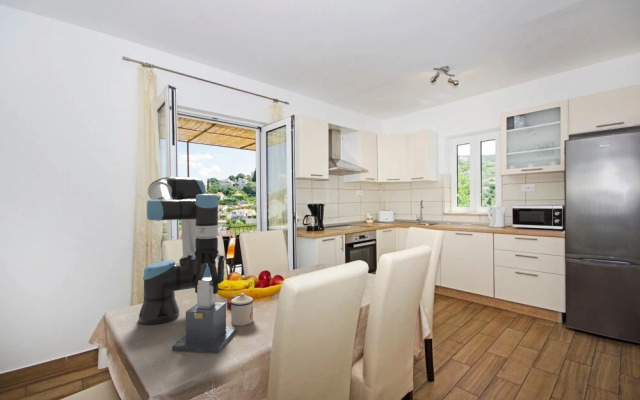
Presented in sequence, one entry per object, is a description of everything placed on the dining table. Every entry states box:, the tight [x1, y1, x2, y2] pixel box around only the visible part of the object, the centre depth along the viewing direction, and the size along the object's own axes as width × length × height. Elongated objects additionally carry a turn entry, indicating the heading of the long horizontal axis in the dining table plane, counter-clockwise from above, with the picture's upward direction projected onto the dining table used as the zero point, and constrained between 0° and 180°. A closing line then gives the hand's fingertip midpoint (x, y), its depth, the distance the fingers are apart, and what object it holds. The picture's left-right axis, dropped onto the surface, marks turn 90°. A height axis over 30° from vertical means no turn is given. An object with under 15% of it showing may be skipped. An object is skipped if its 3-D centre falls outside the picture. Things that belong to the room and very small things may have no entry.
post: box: [197, 277, 215, 310], centre depth 104 cm, size 4×4×20 cm
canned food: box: [226, 293, 238, 310], centre depth 138 cm, size 11×10×10 cm
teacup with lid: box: [230, 292, 254, 327], centre depth 121 cm, size 12×9×12 cm
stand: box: [171, 301, 238, 354], centre depth 104 cm, size 16×16×12 cm
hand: (206, 302), depth 104 cm, fingers closed on post, 4 cm apart
